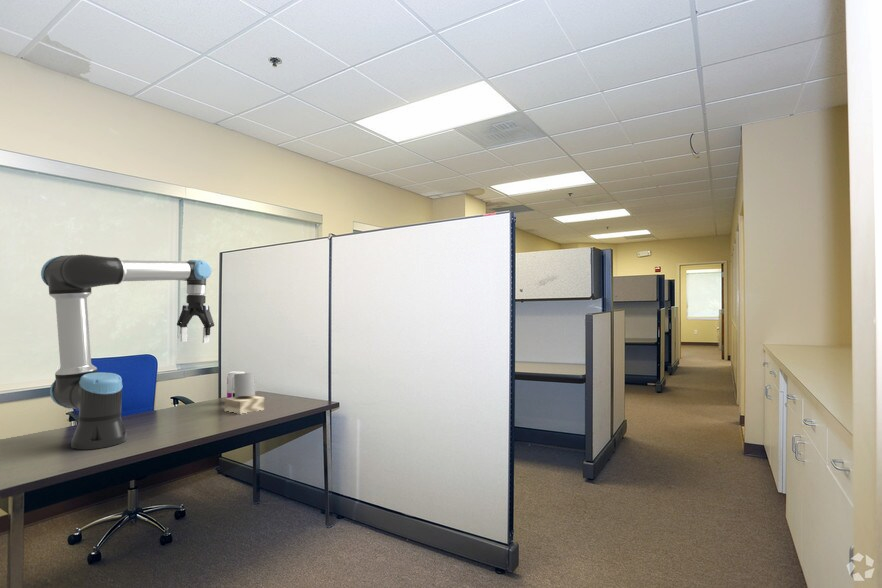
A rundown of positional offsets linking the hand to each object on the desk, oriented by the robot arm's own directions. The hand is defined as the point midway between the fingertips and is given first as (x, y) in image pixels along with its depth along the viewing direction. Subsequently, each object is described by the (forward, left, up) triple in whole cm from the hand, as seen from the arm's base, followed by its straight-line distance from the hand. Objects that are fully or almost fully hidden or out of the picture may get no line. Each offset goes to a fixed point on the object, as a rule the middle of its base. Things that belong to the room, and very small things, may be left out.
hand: (194, 342), depth 202 cm
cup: (+11, -18, -25) cm, 33 cm away
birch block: (+11, -18, -31) cm, 38 cm away
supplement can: (+22, -2, -31) cm, 38 cm away
